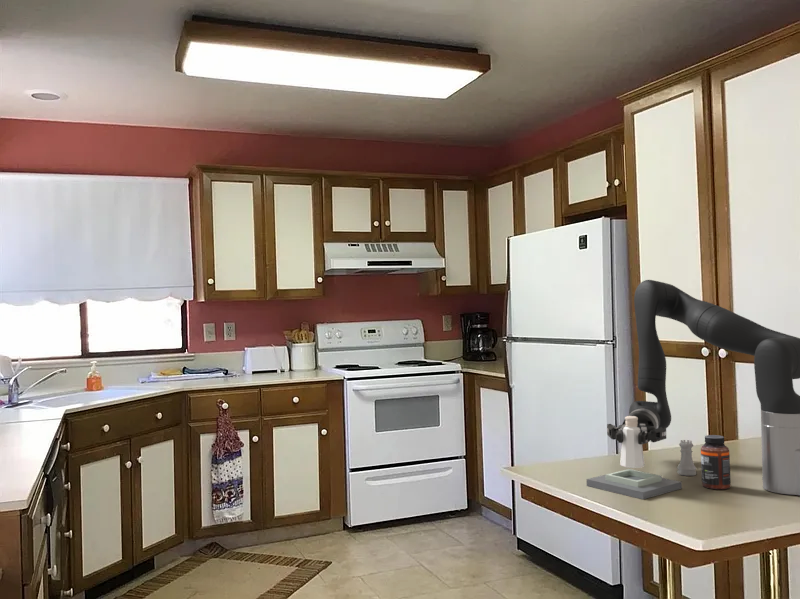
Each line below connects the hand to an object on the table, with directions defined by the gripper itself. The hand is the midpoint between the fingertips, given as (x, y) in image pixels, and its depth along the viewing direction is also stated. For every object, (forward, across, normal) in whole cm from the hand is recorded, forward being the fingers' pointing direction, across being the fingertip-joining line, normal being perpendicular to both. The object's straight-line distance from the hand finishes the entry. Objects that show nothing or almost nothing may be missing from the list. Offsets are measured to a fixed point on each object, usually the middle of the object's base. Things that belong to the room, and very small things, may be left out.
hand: (629, 438), depth 158 cm
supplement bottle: (-9, +17, +12) cm, 23 cm away
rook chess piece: (-20, +10, +12) cm, 25 cm away
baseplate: (-2, 0, +11) cm, 12 cm away
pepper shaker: (-3, 0, +7) cm, 7 cm away
